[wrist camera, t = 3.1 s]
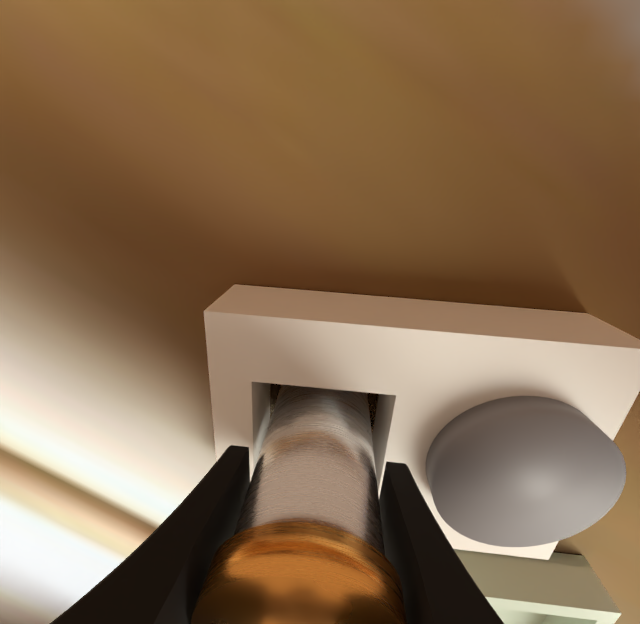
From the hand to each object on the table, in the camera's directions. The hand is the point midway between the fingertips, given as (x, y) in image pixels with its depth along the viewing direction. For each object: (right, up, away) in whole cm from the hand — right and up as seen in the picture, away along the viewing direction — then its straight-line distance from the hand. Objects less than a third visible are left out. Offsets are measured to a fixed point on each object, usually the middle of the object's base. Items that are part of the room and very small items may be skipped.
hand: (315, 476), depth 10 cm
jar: (0, +2, +4) cm, 4 cm away
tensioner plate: (+3, +1, +4) cm, 5 cm away
